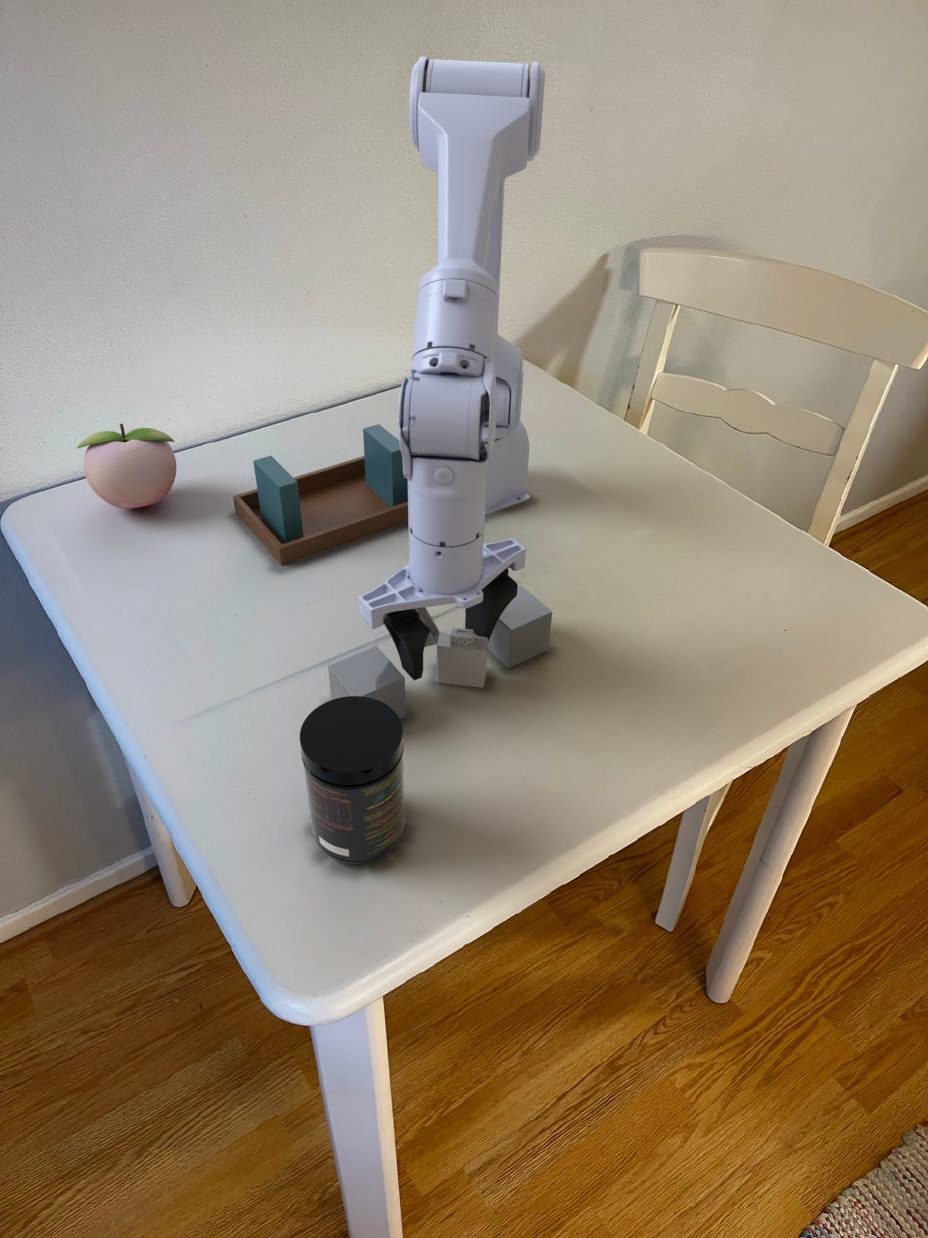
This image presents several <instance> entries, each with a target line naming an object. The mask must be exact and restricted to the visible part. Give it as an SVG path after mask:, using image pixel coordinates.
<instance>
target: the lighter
mask: <svg viewBox="0 0 928 1238" xmlns="http://www.w3.org/2000/svg"><path fill="white" fill-rule="evenodd" d="M416 611H417V613H419V618H420V619H421V620H422V622H423V623H424V624H425V625H426V626H427V627H428V628H429V629H430V630H431V631H430V633H429V635H428V637H427V640H426V643H425V647H424V648H428V647H431V646H436V671H435V672H436V673H435V675H436V676H435V678H436V680H435V681H436V683H437V684H444V685H452V686H453V685H454V686H463V687H472V688H479V689H480V688H481V689H483V688H484V687H485V684H486V683H485V682H486V677H487V663H488V649H487V648H488V638H487V637H480V636H477V635H476V634H475V633H474V632H473V630H472V629H465V628H462V627H461V628H460V627H452V629H451V630H450V632H443V631H441V632H440V629H439V628H438V626H437V625H436V623H435V621H434V619H433V617H432V616H431V614H430V612H429V610H428V609H427V607H423V608H416Z"/></svg>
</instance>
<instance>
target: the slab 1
mask: <svg viewBox="0 0 928 1238" xmlns="http://www.w3.org/2000/svg"><path fill="white" fill-rule="evenodd" d="M253 470H254V476H255V482H256V483H255V484H256V489H257V490H258V497H259V504H260V511H261V518H262V519H263V521H264V522H265V523H266V524H267V525H268V526H269V527H270V528H271V530H272V531H273V532H274V533H275V534H276V535H277V536H278V537H279V539H280V540H281V541H282V542H283V543H284V544H285V543H288V542H291V541H294V540H297V539H300V538H302V537H303V528H302V519H301V510H300V500H299V491H298V482H297V481H296V480H295V479H294V477H293V476H292V475H291V473H289V472H288V471H287V470H286V469H285V468H284V467H283V465H281V464H280V462H278V461H277V460H276V459H275V458H274V457H273V455H268V456H264V457H260V458H257V459H255V460H253Z"/></svg>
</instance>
